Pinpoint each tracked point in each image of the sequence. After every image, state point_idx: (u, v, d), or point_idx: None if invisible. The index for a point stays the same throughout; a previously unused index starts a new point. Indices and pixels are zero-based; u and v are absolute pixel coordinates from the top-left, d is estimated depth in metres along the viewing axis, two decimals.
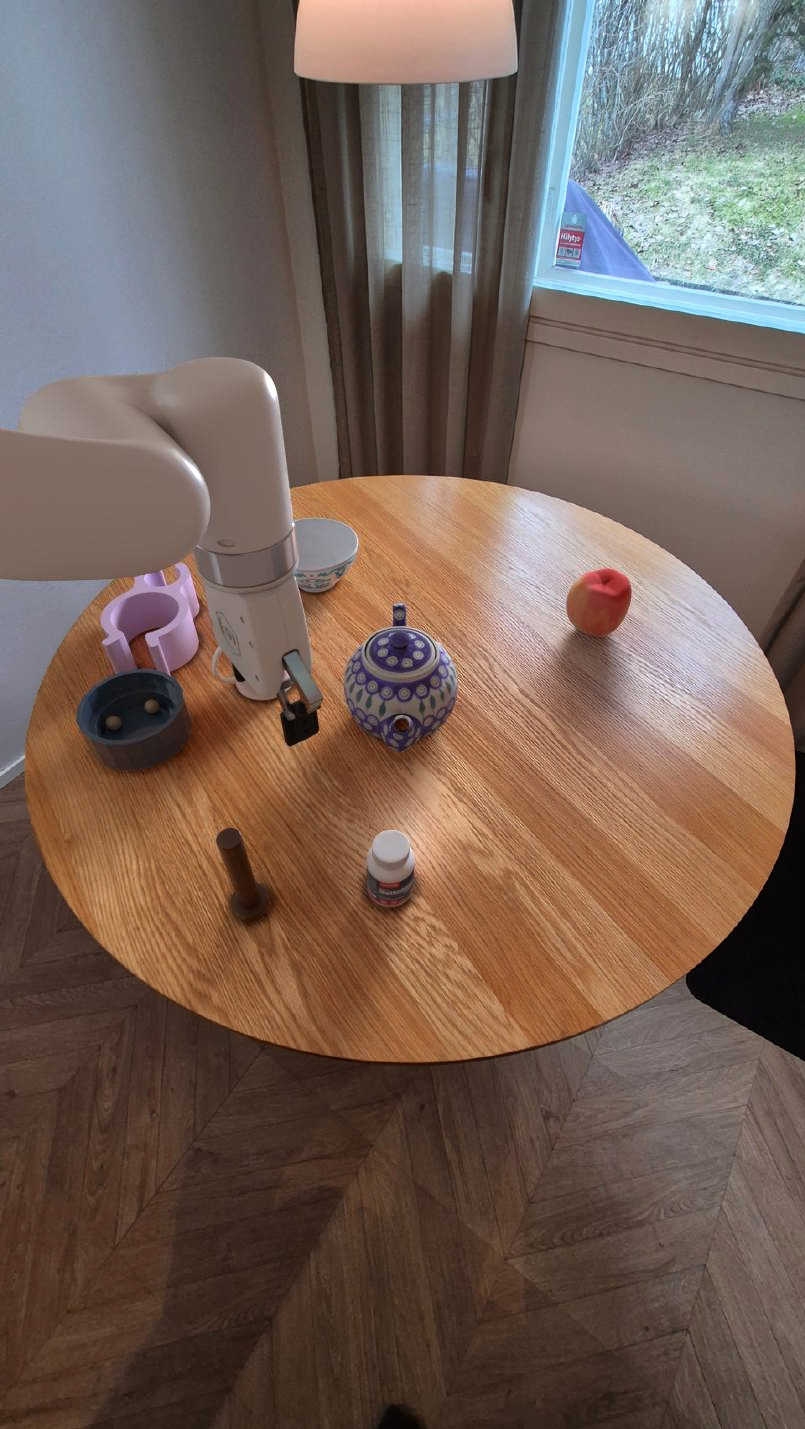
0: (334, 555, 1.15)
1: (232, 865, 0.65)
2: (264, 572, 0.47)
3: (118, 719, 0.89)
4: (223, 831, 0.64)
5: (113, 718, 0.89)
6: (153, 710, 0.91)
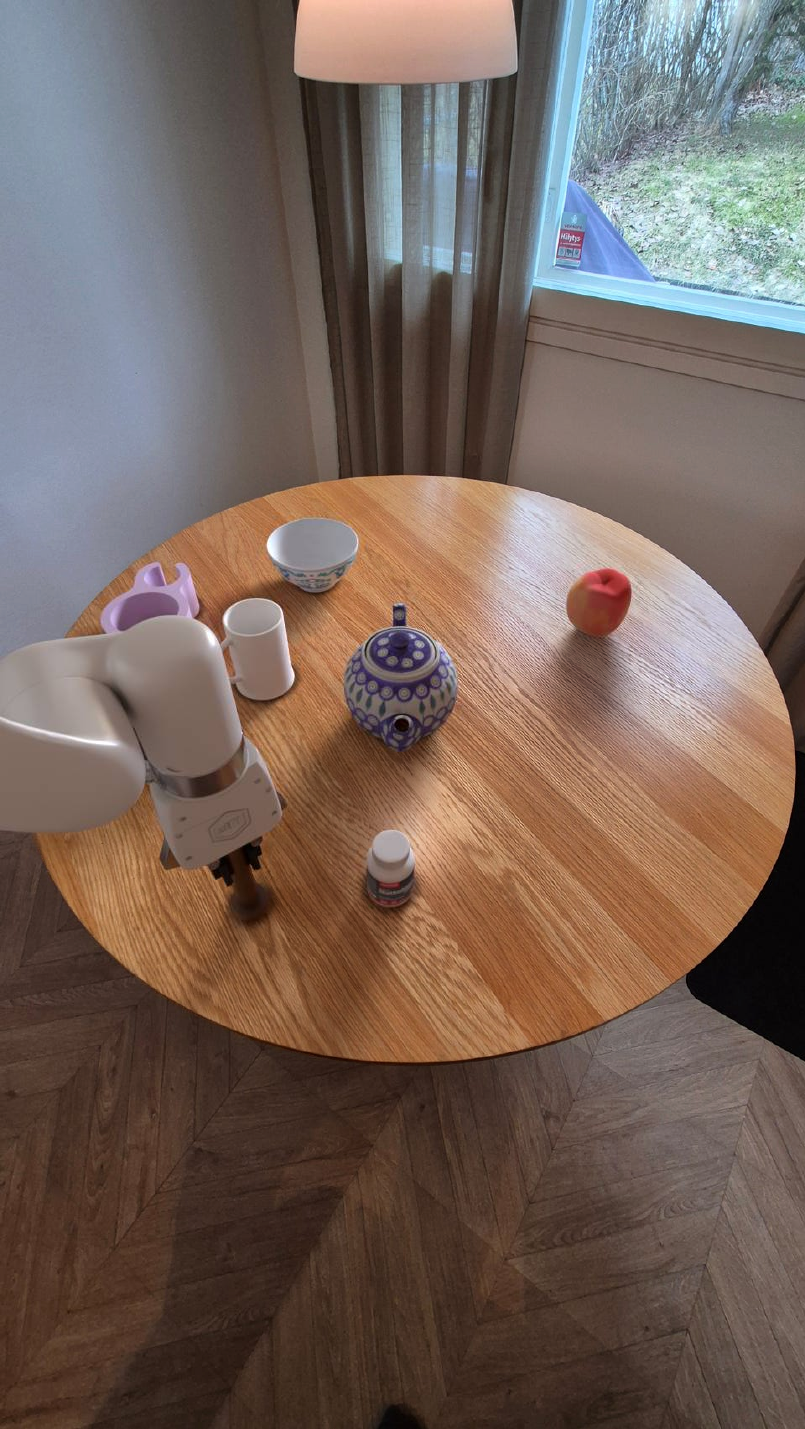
0: (334, 555, 1.15)
1: (231, 866, 0.65)
2: None
3: None
4: None
5: None
6: None
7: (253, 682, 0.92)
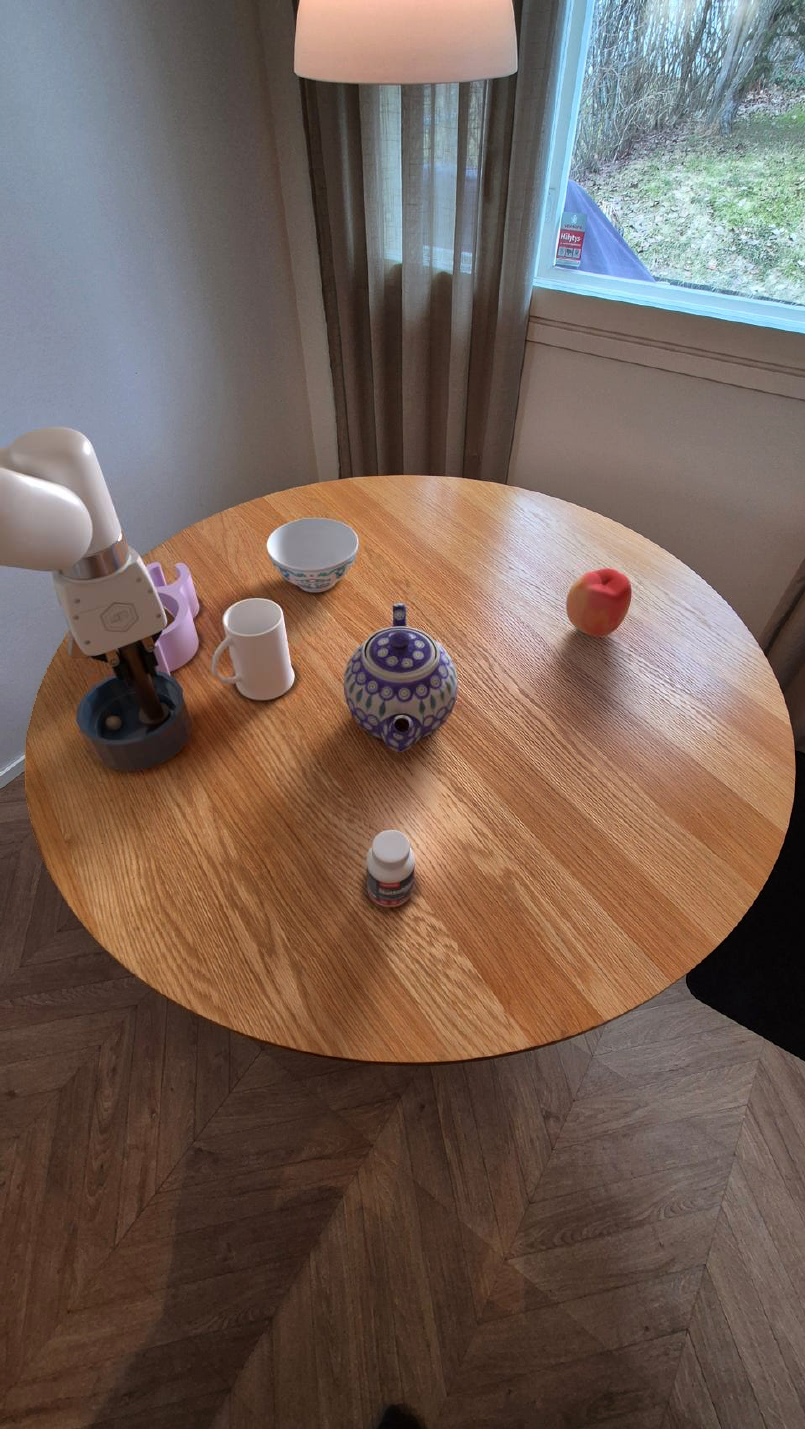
0: (334, 555, 1.15)
1: (131, 668, 0.81)
2: None
3: (118, 719, 0.89)
4: None
5: (113, 718, 0.89)
6: None
7: (253, 682, 0.92)
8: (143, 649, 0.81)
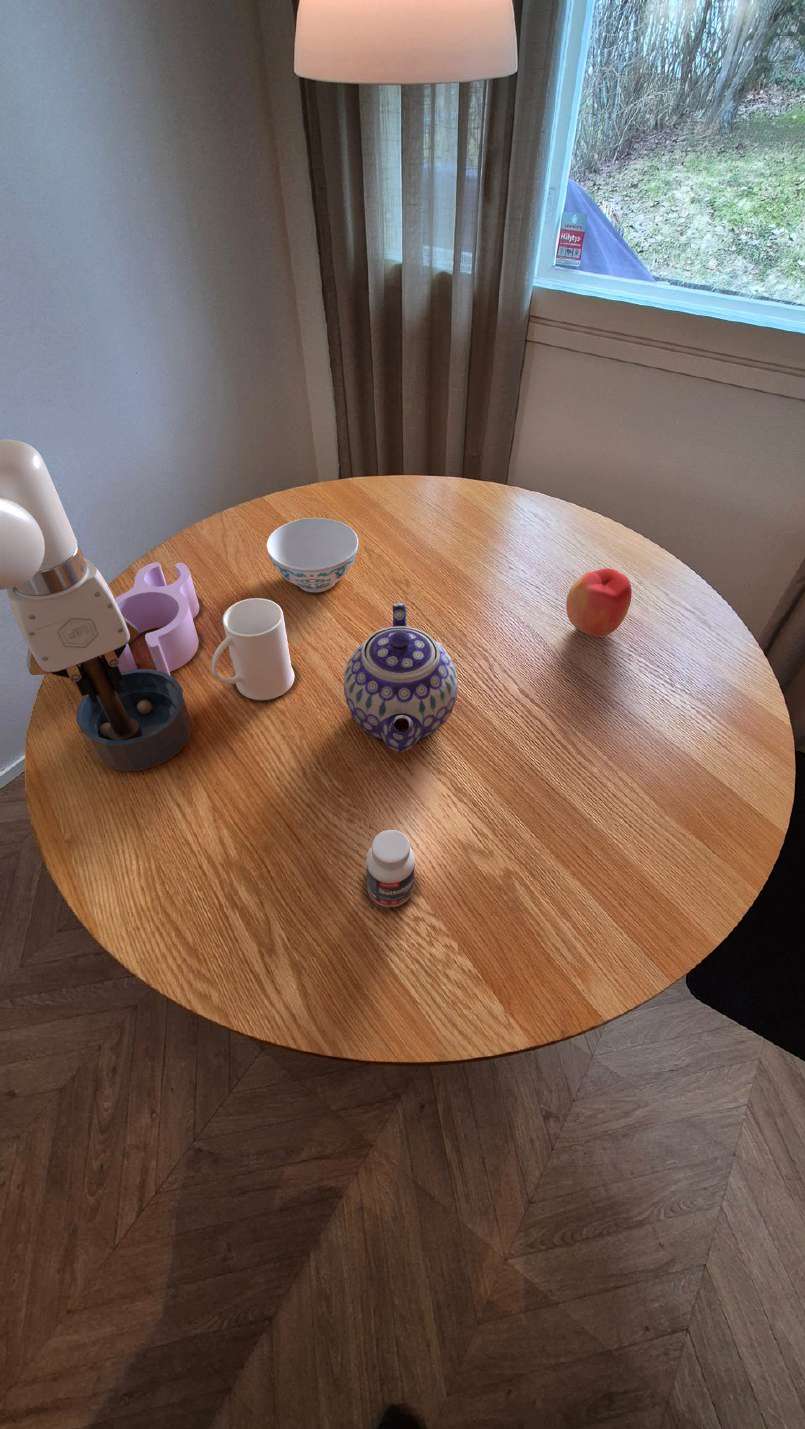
0: (334, 555, 1.15)
1: (94, 683, 0.79)
2: None
3: (106, 728, 0.88)
4: None
5: (104, 725, 0.88)
6: (140, 712, 0.91)
7: (253, 682, 0.92)
8: (106, 664, 0.79)
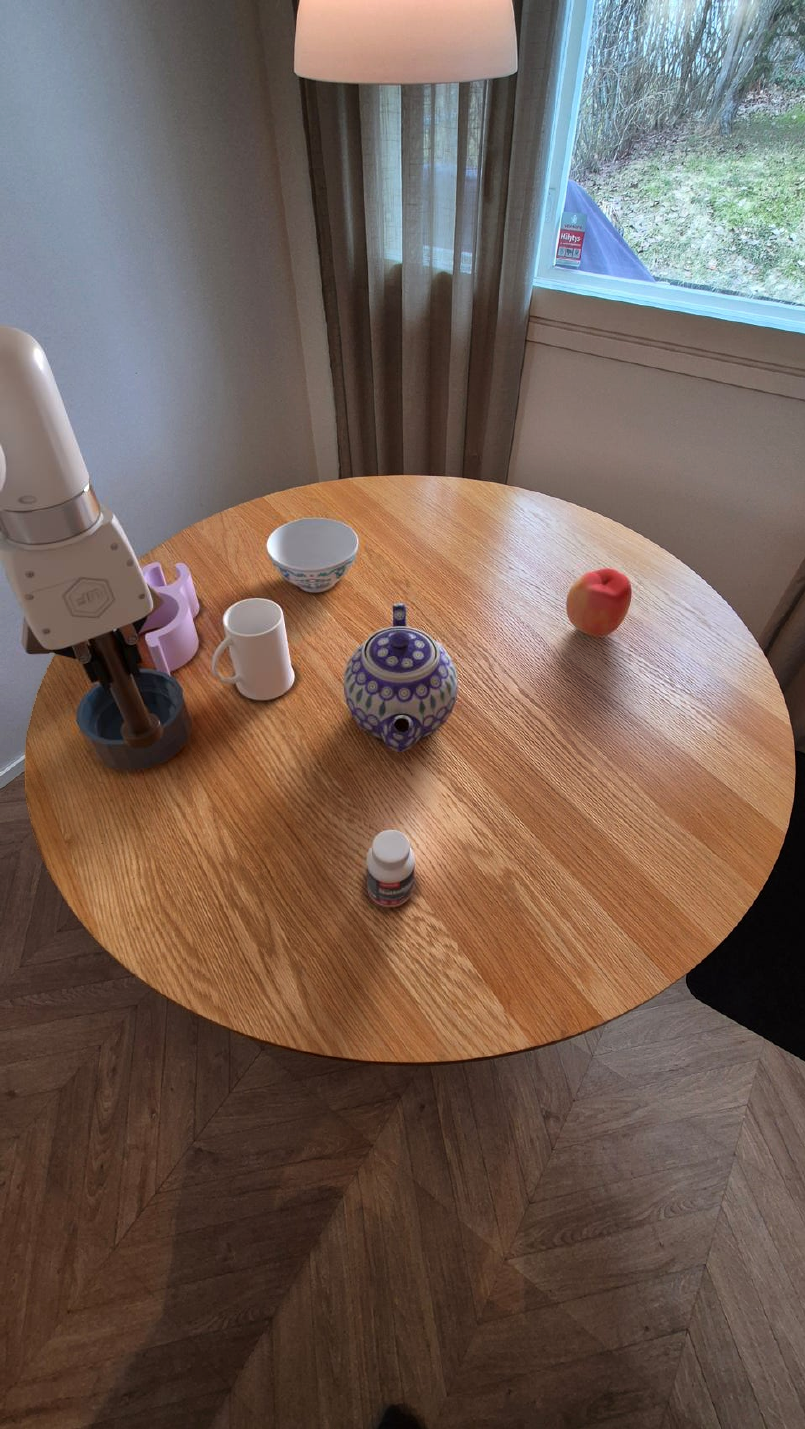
0: (334, 555, 1.15)
1: (107, 665, 0.63)
2: None
3: None
4: None
5: None
6: None
7: (253, 682, 0.92)
8: (122, 641, 0.63)
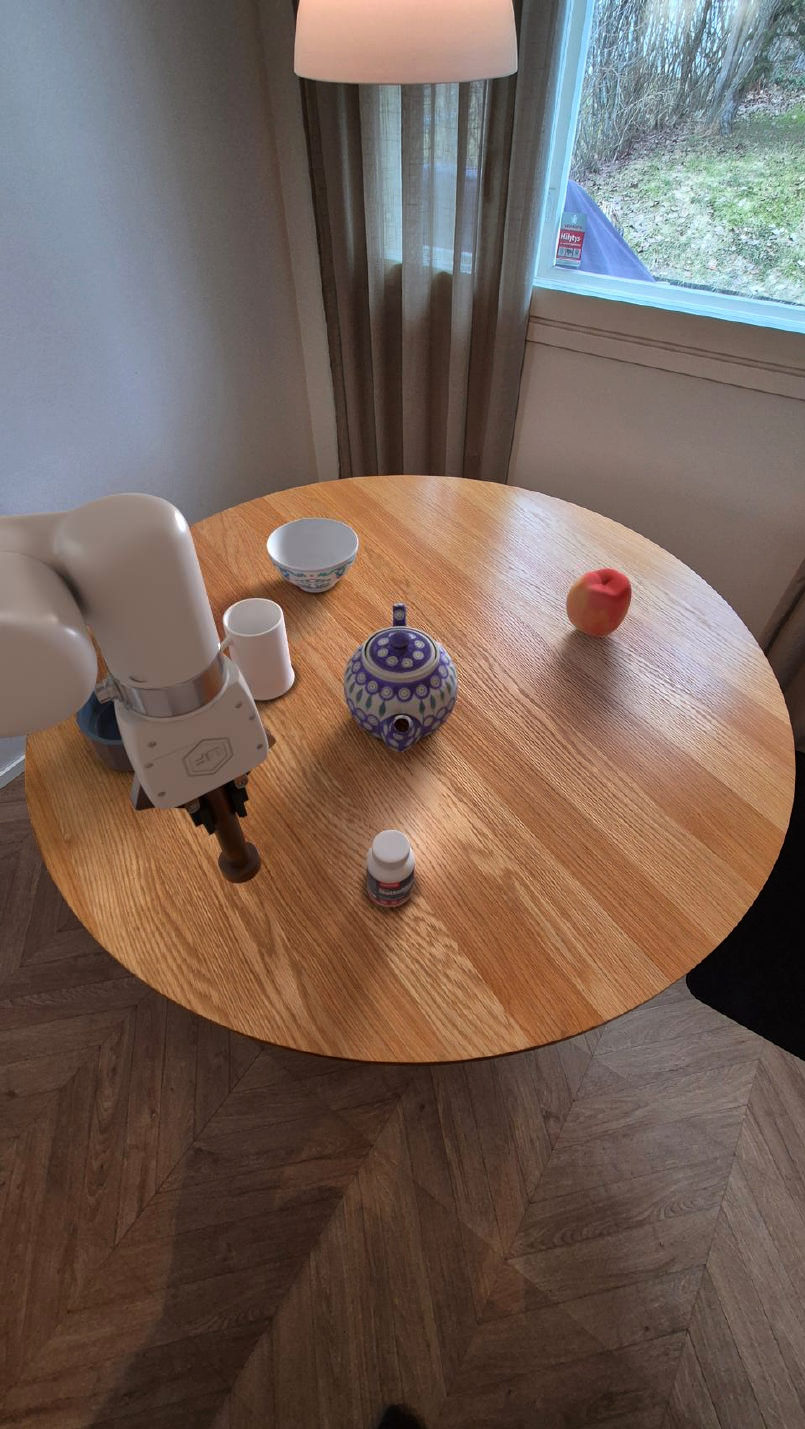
0: (334, 555, 1.15)
1: (214, 810, 0.58)
2: None
3: None
4: None
5: None
6: None
7: (253, 682, 0.92)
8: (231, 785, 0.58)
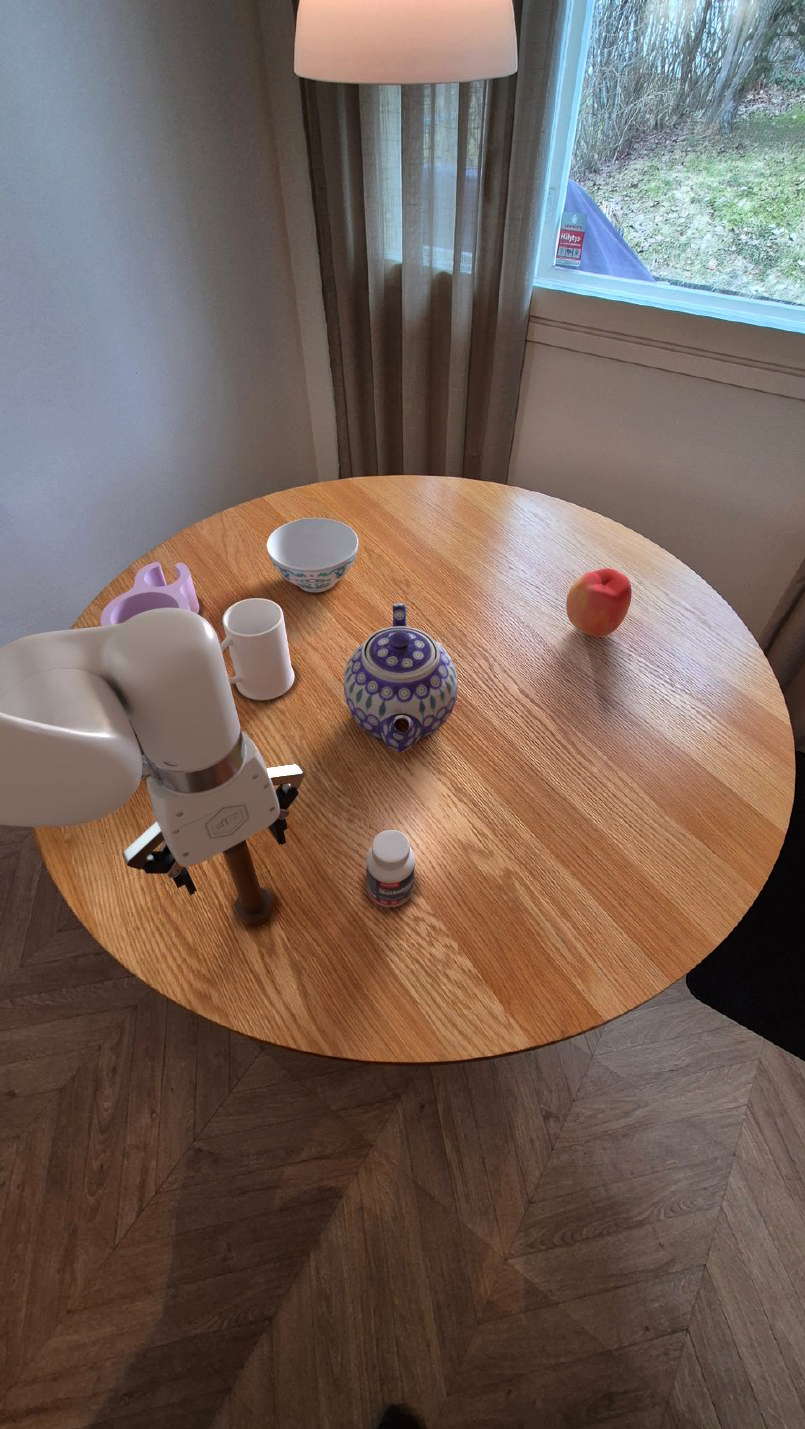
0: (334, 555, 1.15)
1: (237, 871, 0.65)
2: None
3: None
4: None
5: None
6: None
7: (253, 682, 0.92)
8: None
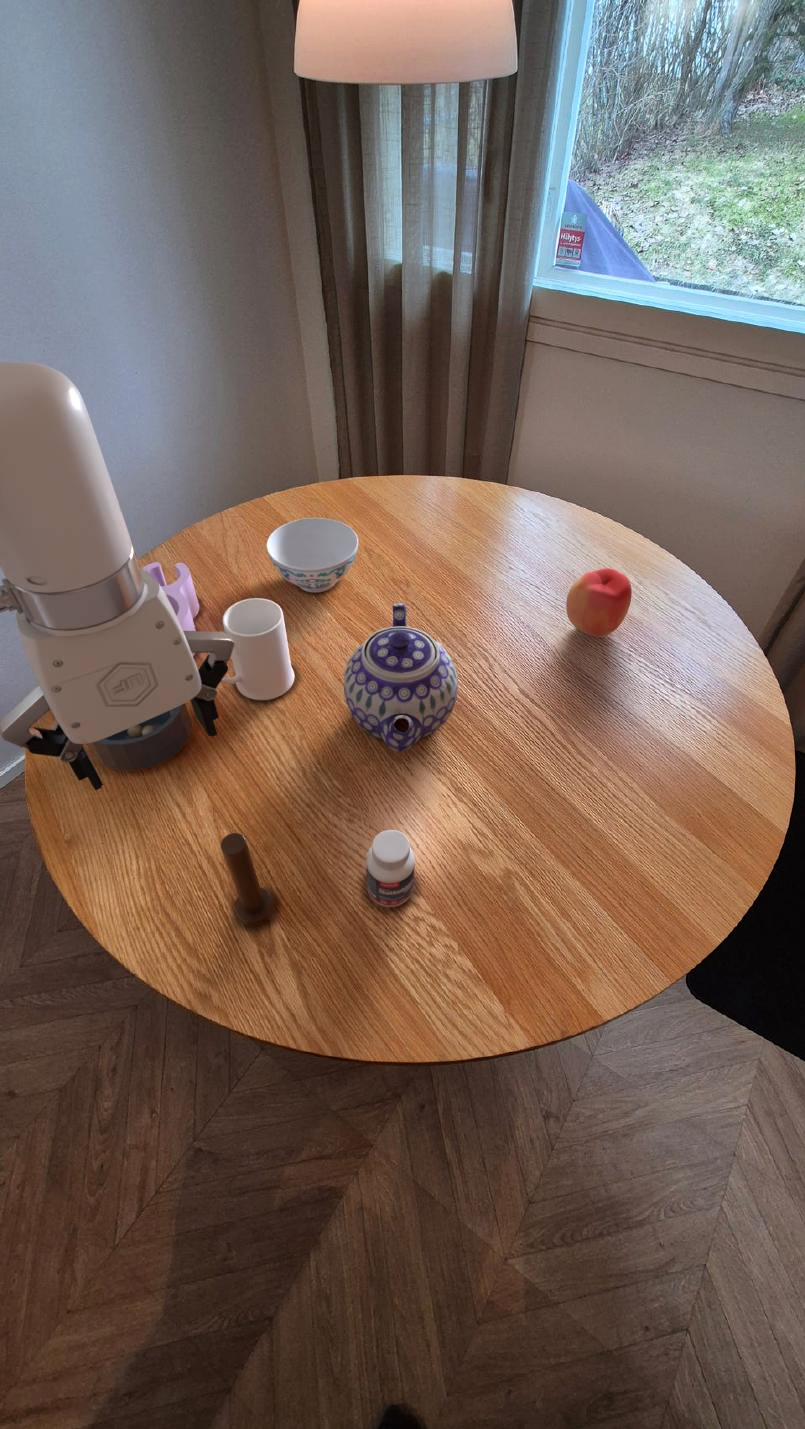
0: (334, 555, 1.15)
1: (237, 871, 0.65)
2: None
3: (143, 728, 0.88)
4: (227, 837, 0.63)
5: None
6: None
7: (253, 682, 0.92)
8: None
